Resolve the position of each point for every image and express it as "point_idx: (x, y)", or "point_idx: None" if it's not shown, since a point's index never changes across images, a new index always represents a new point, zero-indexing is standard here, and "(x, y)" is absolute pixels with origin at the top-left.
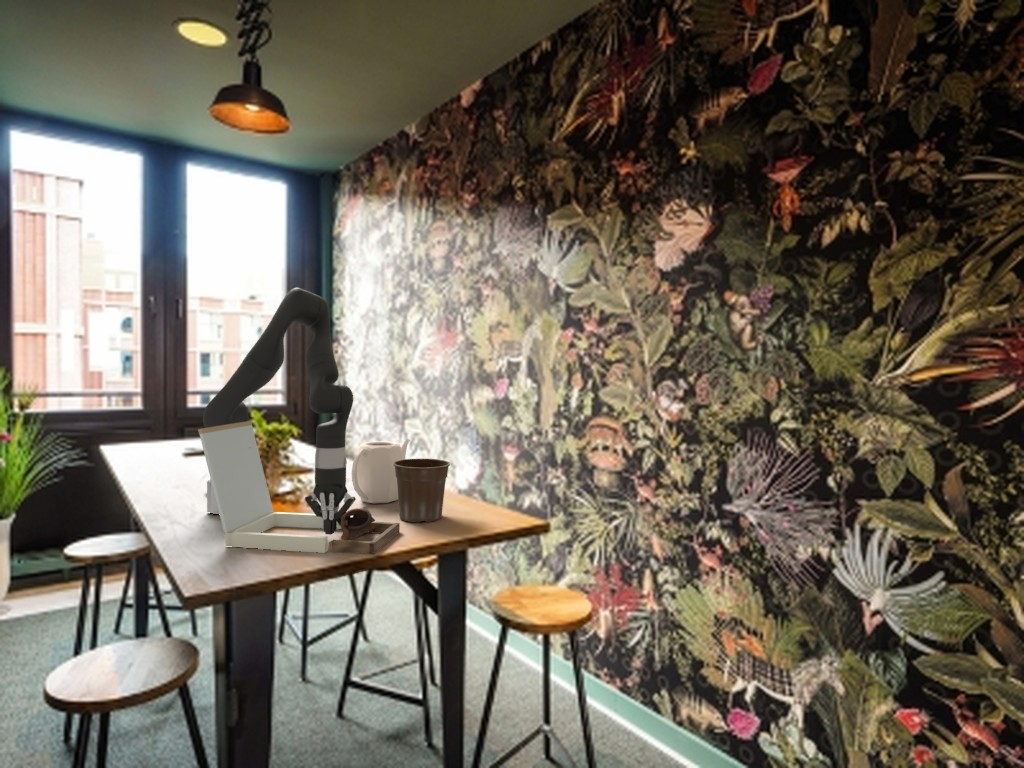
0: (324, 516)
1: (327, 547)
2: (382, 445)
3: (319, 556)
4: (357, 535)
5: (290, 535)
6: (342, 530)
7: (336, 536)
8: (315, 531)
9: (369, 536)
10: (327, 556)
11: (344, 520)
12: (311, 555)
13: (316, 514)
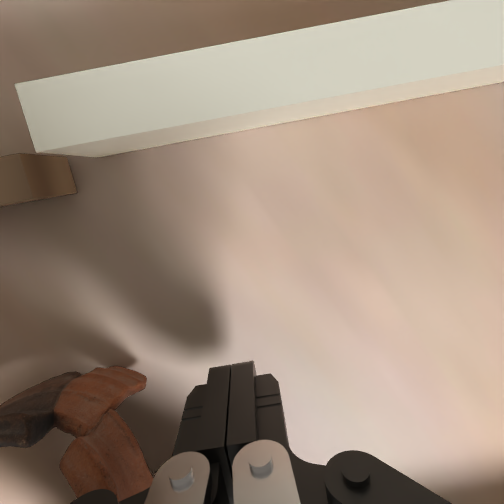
0: (261, 466)
1: (86, 155)
2: None
3: (66, 25)
4: (5, 403)
5: (409, 42)
6: None
7: None
8: (431, 474)
9: (66, 497)
10: (13, 47)
11: None
12: (136, 25)
13: (376, 469)
